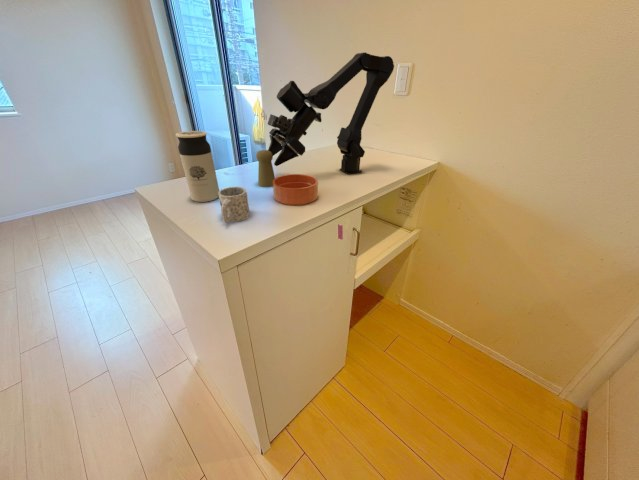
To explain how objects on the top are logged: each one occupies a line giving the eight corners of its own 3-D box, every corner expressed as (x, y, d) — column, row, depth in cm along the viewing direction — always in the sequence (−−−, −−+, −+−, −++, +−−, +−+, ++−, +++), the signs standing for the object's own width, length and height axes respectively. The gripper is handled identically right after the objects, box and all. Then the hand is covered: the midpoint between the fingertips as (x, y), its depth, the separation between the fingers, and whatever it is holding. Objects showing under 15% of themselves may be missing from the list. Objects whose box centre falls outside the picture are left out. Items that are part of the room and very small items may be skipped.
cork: (279, 184, 88) (277, 150, 82) (264, 188, 84) (261, 153, 78) (269, 179, 91) (266, 147, 85) (254, 183, 88) (250, 150, 82)
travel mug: (198, 192, 80) (183, 130, 71) (224, 192, 80) (212, 131, 71) (186, 202, 74) (168, 135, 64) (214, 202, 74) (199, 136, 64)
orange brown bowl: (305, 186, 86) (305, 171, 83) (325, 200, 76) (325, 184, 73) (267, 193, 80) (266, 177, 78) (284, 209, 71) (282, 192, 68)
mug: (229, 209, 70) (225, 186, 66) (253, 211, 69) (250, 187, 66) (212, 227, 61) (206, 201, 58) (239, 229, 61) (235, 203, 57)
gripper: (272, 101, 85) (243, 139, 86) (294, 106, 71) (259, 151, 72) (295, 126, 92) (268, 160, 94) (319, 134, 78) (287, 175, 80)
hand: (270, 161), depth 85 cm, fingers open, 9 cm apart
